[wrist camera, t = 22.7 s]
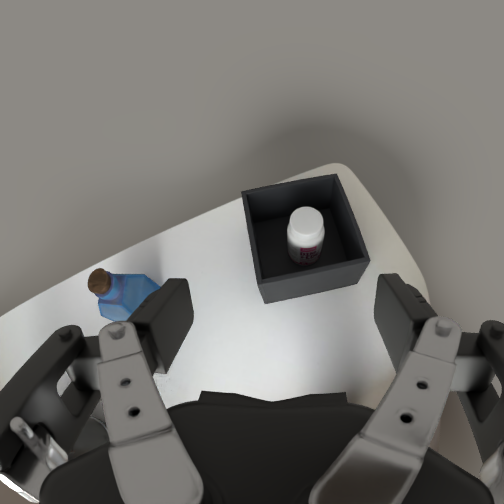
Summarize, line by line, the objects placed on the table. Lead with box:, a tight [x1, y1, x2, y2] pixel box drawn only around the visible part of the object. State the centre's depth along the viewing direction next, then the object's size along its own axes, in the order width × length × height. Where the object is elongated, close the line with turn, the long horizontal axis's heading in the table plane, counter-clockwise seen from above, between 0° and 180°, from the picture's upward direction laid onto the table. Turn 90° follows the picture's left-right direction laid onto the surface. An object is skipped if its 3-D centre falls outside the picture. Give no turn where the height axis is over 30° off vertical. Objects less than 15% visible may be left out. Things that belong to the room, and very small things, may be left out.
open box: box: [241, 174, 370, 304], centre depth 37 cm, size 13×13×8 cm
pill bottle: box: [287, 207, 325, 266], centre depth 36 cm, size 5×5×8 cm
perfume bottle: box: [88, 268, 161, 322], centre depth 35 cm, size 6×6×12 cm
